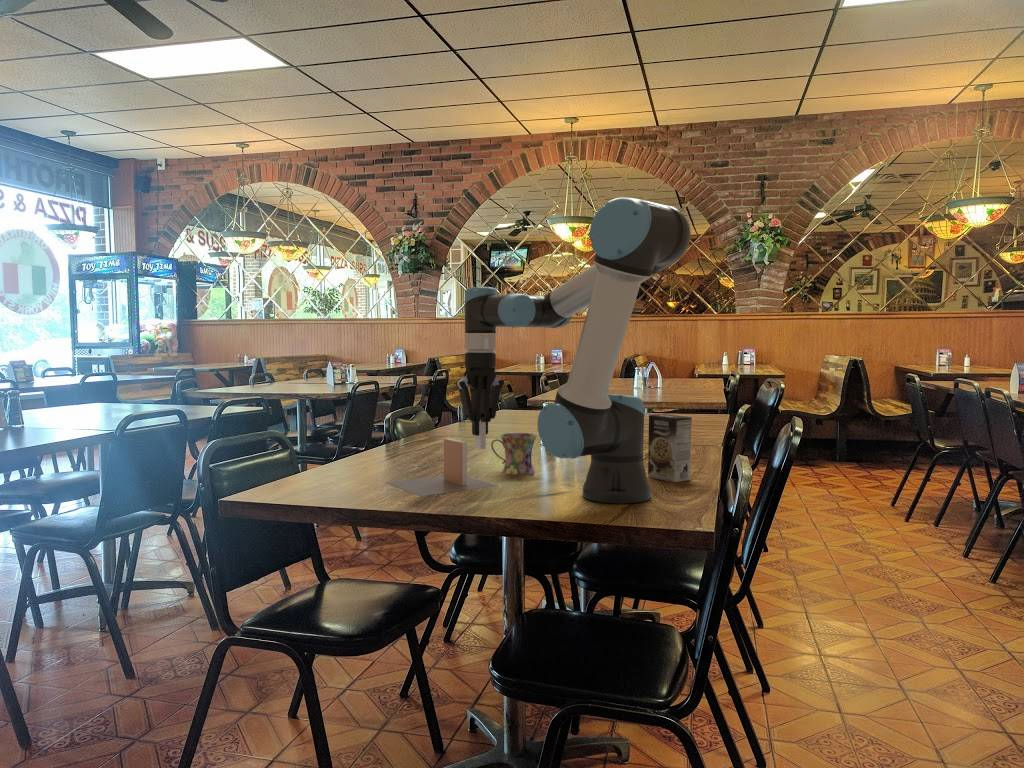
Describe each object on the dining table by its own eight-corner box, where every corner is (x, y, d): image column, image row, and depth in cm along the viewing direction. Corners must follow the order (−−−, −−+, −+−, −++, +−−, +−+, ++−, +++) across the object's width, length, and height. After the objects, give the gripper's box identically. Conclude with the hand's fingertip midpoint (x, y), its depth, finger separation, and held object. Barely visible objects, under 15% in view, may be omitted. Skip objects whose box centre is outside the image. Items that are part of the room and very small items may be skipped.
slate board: (497, 490, 171) (497, 485, 171) (421, 501, 159) (421, 496, 159) (457, 478, 186) (457, 473, 185) (385, 487, 174) (385, 482, 174)
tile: (467, 484, 172) (467, 442, 171) (461, 485, 171) (461, 442, 170) (449, 479, 178) (449, 438, 178) (443, 479, 177) (443, 438, 177)
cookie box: (646, 477, 188) (647, 414, 187) (663, 474, 192) (664, 413, 191) (674, 482, 181) (675, 417, 180) (691, 479, 184) (692, 416, 183)
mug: (540, 473, 193) (540, 433, 192) (531, 480, 184) (531, 438, 183) (496, 471, 196) (496, 431, 195) (485, 477, 187) (485, 436, 186)
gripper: (493, 351, 184) (493, 444, 185) (449, 351, 176) (449, 448, 178) (511, 351, 178) (510, 448, 179) (465, 352, 170) (465, 452, 172)
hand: (479, 448), depth 179 cm, fingers closed
